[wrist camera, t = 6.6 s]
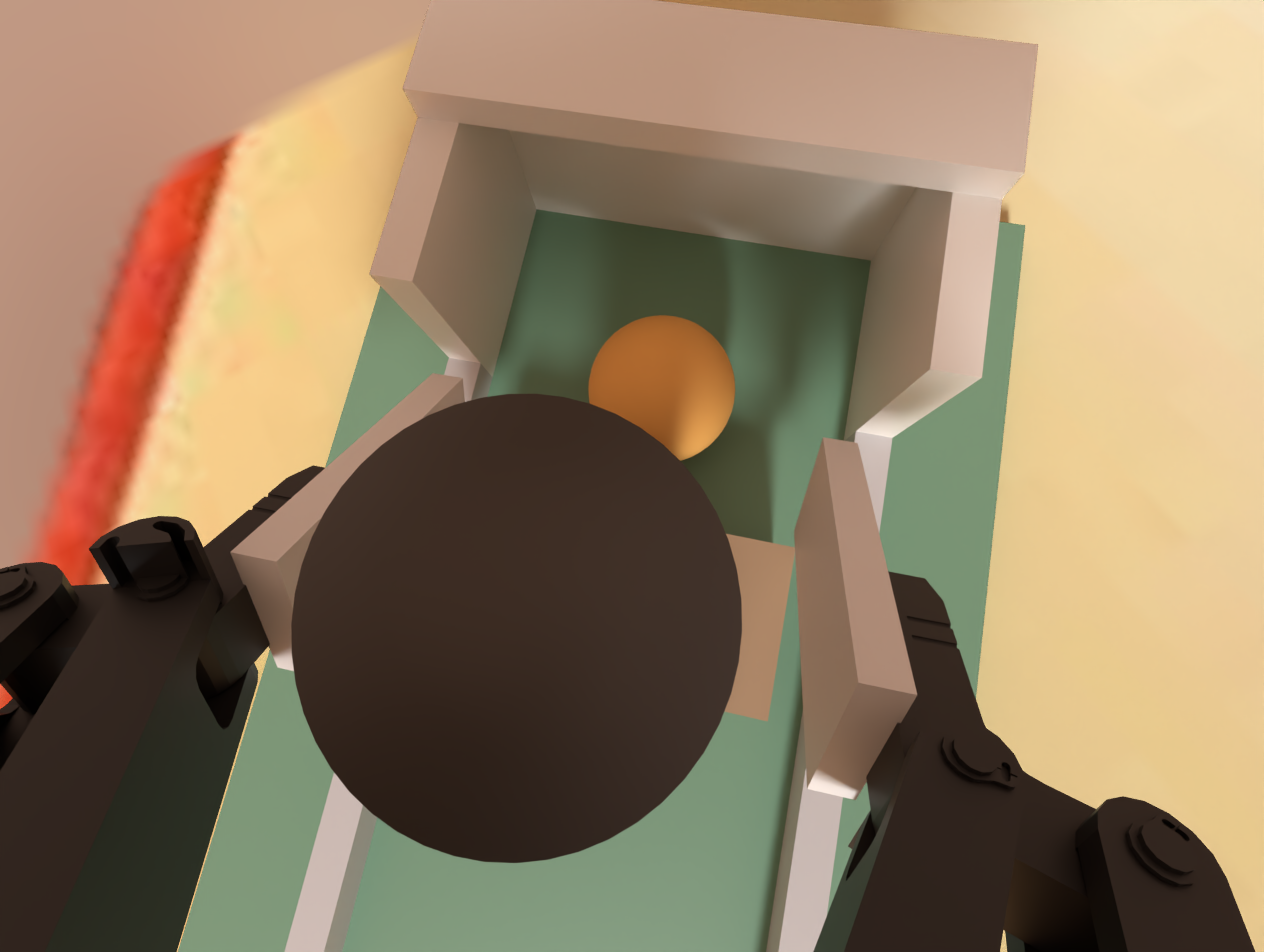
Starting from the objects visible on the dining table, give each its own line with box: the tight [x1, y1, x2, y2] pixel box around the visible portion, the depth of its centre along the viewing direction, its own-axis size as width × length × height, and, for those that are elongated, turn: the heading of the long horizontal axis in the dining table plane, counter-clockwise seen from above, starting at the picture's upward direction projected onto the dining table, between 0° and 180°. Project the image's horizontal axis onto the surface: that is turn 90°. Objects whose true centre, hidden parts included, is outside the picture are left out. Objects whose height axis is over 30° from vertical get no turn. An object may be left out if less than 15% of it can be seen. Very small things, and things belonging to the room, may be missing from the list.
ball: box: [589, 315, 735, 461], centre depth 16 cm, size 4×4×4 cm
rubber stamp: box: [291, 394, 795, 863], centre depth 11 cm, size 8×4×12 cm, turn 79°
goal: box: [369, 0, 1038, 441], centre depth 16 cm, size 13×7×7 cm, turn 79°
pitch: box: [178, 209, 1025, 952], centre depth 17 cm, size 20×26×2 cm
